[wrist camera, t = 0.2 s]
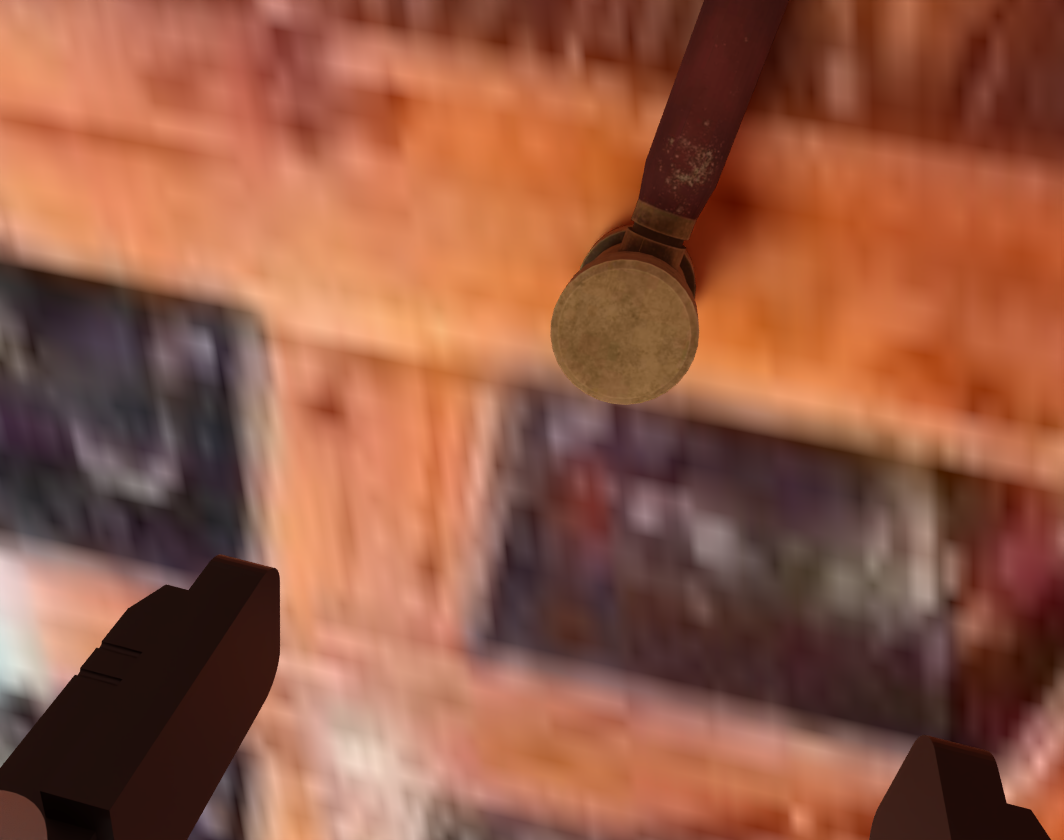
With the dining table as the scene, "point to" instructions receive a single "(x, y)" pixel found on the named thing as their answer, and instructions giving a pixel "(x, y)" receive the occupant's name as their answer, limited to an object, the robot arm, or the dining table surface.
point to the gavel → (664, 220)
